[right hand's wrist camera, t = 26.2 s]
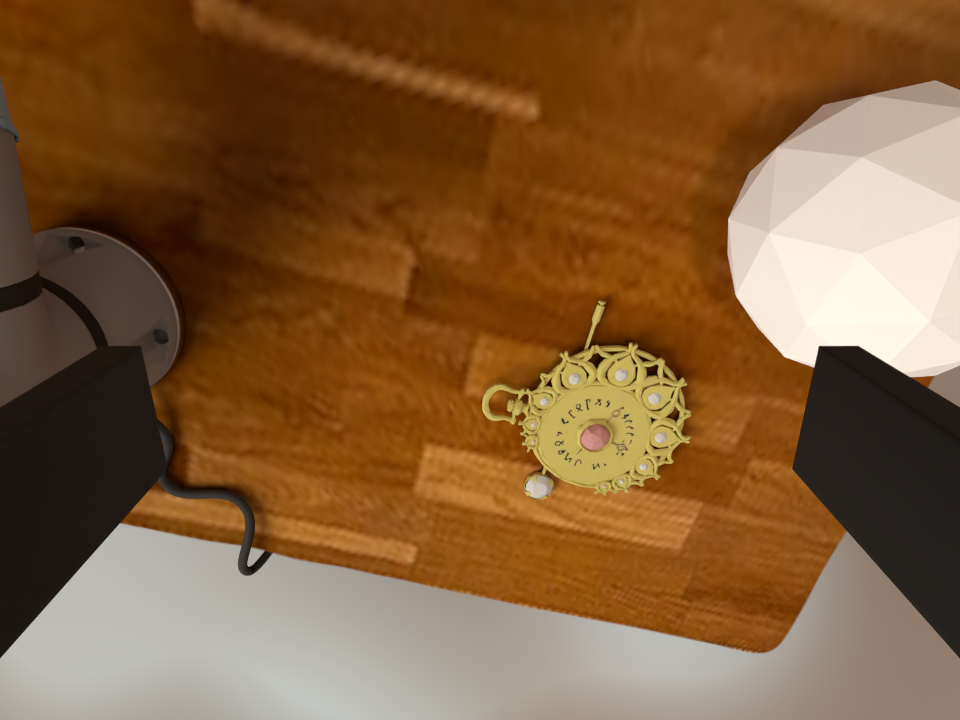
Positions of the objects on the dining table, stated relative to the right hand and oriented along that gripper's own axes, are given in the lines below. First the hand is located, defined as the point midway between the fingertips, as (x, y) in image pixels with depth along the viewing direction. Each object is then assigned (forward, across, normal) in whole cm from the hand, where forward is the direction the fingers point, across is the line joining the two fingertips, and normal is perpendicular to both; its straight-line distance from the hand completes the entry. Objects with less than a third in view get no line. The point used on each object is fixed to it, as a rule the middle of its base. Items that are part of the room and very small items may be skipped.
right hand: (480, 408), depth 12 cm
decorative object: (+41, -10, +20) cm, 46 cm away
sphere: (+41, -27, +2) cm, 49 cm away
